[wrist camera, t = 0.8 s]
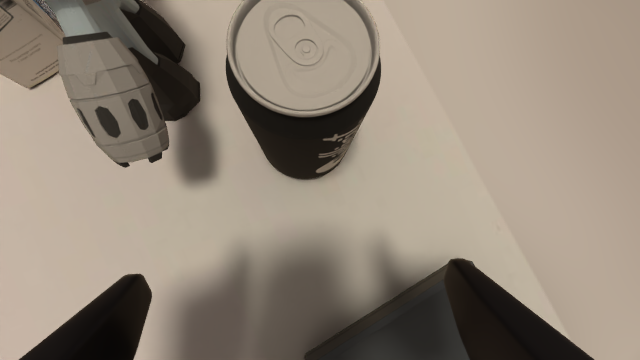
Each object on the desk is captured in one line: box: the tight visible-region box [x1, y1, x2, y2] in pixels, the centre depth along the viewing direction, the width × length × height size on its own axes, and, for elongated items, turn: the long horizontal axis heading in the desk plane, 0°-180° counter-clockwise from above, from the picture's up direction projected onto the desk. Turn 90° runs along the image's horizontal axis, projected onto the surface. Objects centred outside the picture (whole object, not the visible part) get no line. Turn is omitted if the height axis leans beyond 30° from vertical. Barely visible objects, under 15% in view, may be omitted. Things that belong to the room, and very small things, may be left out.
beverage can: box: [226, 0, 381, 179], centre depth 17 cm, size 7×7×12 cm
